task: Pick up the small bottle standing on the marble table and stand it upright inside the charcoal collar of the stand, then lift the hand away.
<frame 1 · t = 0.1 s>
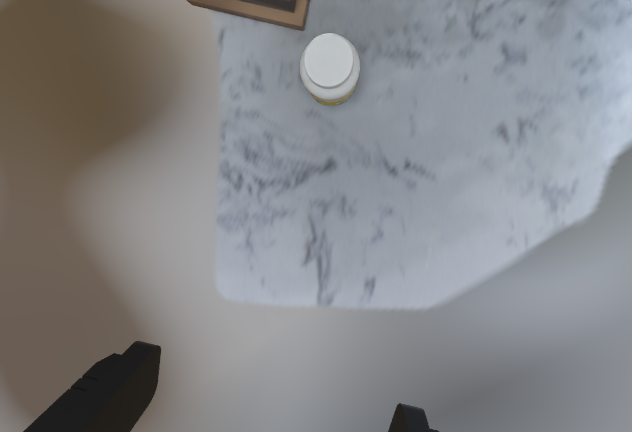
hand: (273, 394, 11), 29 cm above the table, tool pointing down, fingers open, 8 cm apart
supplement bottle: (331, 79, 36), on the table
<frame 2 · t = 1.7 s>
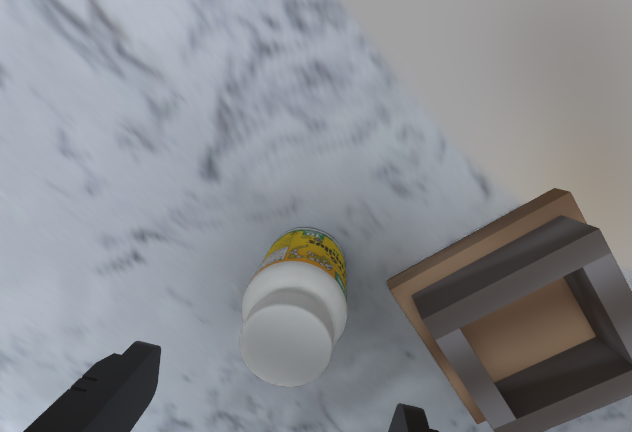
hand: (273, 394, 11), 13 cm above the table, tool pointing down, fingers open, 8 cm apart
supplement bottle: (307, 261, 23), on the table
collar stand: (508, 307, 23), on the table
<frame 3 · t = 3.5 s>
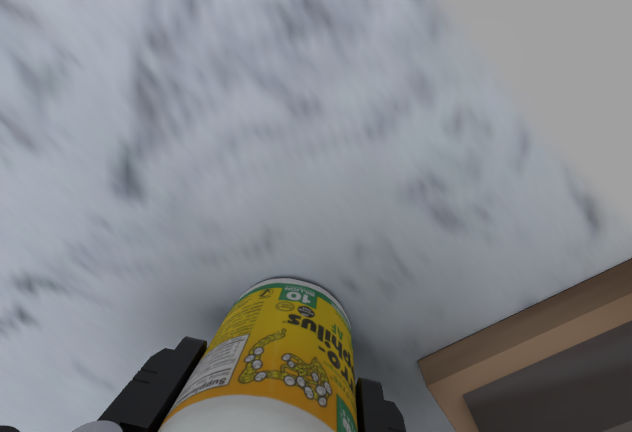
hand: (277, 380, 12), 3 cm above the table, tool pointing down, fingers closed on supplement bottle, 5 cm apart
supplement bottle: (291, 328, 15), on the table, touching gripper
collar stand: (612, 406, 14), on the table
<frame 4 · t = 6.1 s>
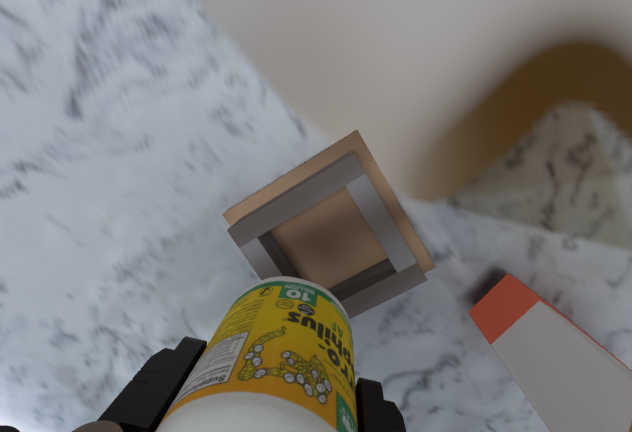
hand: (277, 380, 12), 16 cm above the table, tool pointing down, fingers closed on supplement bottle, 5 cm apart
french fries container: (523, 313, 28), on the table
supplement bottle: (291, 326, 15), point 13 cm above the table, touching gripper
collar stand: (329, 234, 27), on the table
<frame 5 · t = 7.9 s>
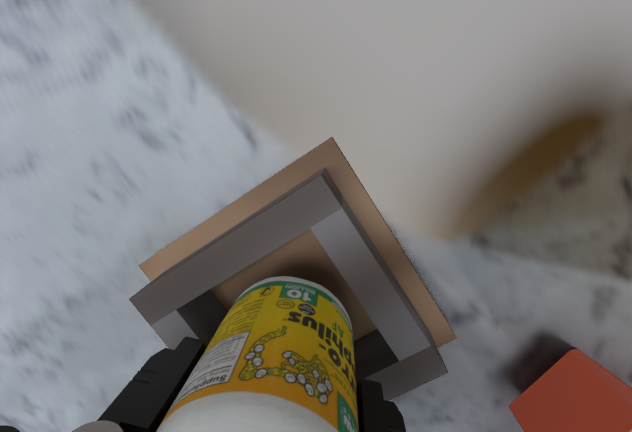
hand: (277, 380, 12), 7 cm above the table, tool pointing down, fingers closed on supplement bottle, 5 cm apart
french fries container: (584, 394, 19), on the table
supplement bottle: (291, 326, 15), point 4 cm above the table, touching gripper
collar stand: (299, 288, 19), on the table
when the fingers open (6 cm above the table, at t = 9.1 s): supplement bottle drops 1 cm, resting on collar stand.
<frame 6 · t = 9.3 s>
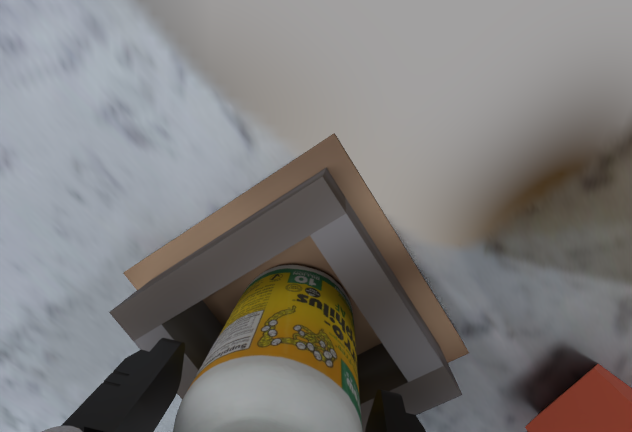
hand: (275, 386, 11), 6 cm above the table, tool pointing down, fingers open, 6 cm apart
french fries container: (604, 411, 18), on the table
supplement bottle: (297, 311, 16), point 1 cm above the table, touching collar stand
collar stand: (298, 297, 17), on the table
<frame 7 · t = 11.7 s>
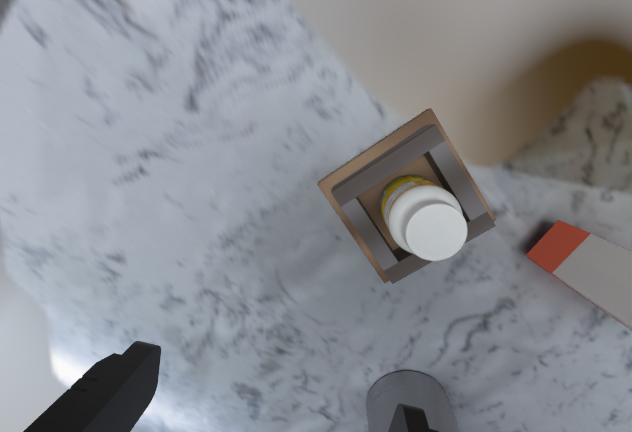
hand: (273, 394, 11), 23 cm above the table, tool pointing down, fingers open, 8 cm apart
french fries container: (569, 258, 33), on the table
supplement bottle: (407, 201, 31), point 1 cm above the table, touching collar stand
collar stand: (403, 198, 32), on the table
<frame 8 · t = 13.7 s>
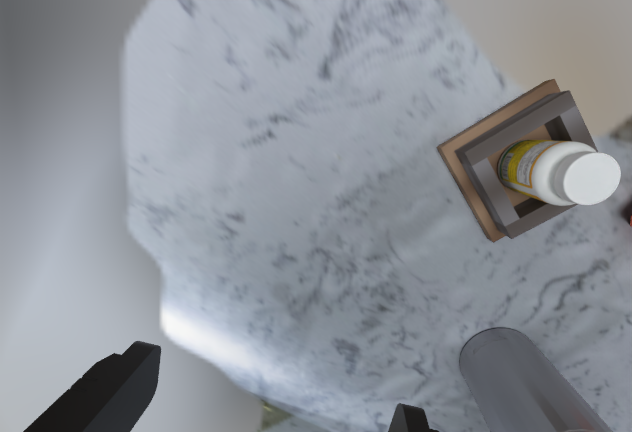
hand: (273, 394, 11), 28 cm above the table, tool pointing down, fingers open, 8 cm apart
supplement bottle: (522, 165, 34), point 1 cm above the table, touching collar stand
collar stand: (514, 164, 35), on the table
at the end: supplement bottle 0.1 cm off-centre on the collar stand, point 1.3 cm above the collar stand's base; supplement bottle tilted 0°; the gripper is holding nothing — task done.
